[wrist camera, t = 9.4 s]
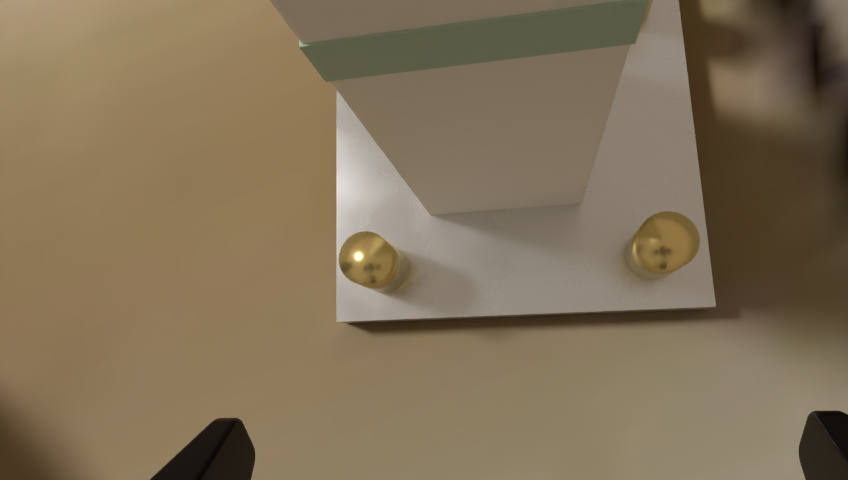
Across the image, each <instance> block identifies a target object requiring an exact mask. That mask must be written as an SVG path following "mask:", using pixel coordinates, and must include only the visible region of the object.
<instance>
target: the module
mask: <svg viewBox="0 0 848 480" xmlns="http://www.w3.org/2000/svg"><path fill="white" fill-rule="evenodd" d="M270 1H271V2H272V4H273V5H274V6H275V8H276V9H277V10H278V12H279V13H280V14H281V16H282V17H283V18H284V20H285V21H286V22H287V24H288V25H289V26H290V28H291V29H292V30H293V32H294V33H295V34H296V36H297V37H298V38H299V47H300V49H301V50H302V51H303V53H304V54H305V55H306V56H307V58H308V59H309V60H310V62H311V63H312V64H313V66H314V67H315V68H316V70H317V71H318V72H319V74H320V75H321V76H322V77H323V79H324V80H325V81H326V82H328V81H331V83H332V84H333V85H334V87H335V88H336V89H337V91H338V92H339V93H340V95H341V96H342V97H343V99H344V100H345V101H346V103H347V104H348V105H349V107H350V108H351V109H352V111H353V112H354V114H355V115H356V116H357V118H358V119H359V120H360V122H361V123H362V124H363V126H364V127H365V128H366V130H367V131H368V132H369V134H370V135H371V136H372V138H373V139H374V140H375V142H376V143H377V144H378V146H379V147H380V148H381V150H382V151H383V152H384V154H385V155H386V156H387V158H388V159H389V160H390V162H391V163H392V164H393V166H394V167H395V168H396V170H397V171H398V173H399V174H400V175H401V177H402V178H403V179H404V181H405V182H406V183H407V185H408V186H409V187H410V189H411V190H412V191H413V193H414V194H415V195H416V197H417V198H418V199H419V201H420V202H421V203H422V205H423V206H424V207H425V209H426V210H427V211H428V213H429V214H430V215H442V214H454V213H466V212H479V211H491V210H503V209H516V208H528V207H541V206H553V205H565V204H578V203H582V202H583V198H584V195H585V192H586V188H587V185H588V182H589V179H590V175H591V172H592V169H593V166H594V162H595V159H596V156H597V153H598V149H599V146H600V143H601V140H602V136H603V133H604V130H605V126H606V123H607V120H608V117H609V113H610V110H611V107H612V104H613V100H614V97H615V94H616V91H617V87H618V84H619V81H620V78H621V74H622V71H623V68H624V64H625V61H626V58H627V55H628V51H629V48H630V45H631V44H635V43H636V40H637V37H638V34H639V30H640V27H641V24H642V21H643V18H644V15H645V12H646V9H647V6H648V2H649V0H270Z"/></svg>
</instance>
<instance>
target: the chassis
mask: <svg viewBox="0 0 848 480" xmlns="http://www.w3.org/2000/svg"><path fill="white" fill-rule="evenodd" d="M713 307H716V302H715V294H714V286H713V278H712V269H711V261H710V253H709V245H708V237H707V228H706V220H705V212H704V204H703V196H702V187H701V179H700V171H699V163H698V155H697V147H696V138H695V130H694V122H693V114H692V106H691V97H690V89H689V81H688V73H687V65H686V56H685V48H684V40H683V32H682V24H681V15H680V7H679V0H649V2H648V6H647V9H646V12H645V15H644V18H643V21H642V24H641V27H640V30H639V34H638V37H637V40H636V43H635V44H631V45H630V48H629V51H628V55H627V58H626V61H625V64H624V68H623V71H622V74H621V78H620V81H619V84H618V87H617V91H616V94H615V97H614V100H613V104H612V107H611V110H610V113H609V117H608V120H607V123H606V126H605V130H604V133H603V136H602V140H601V143H600V146H599V149H598V153H597V156H596V159H595V162H594V166H593V169H592V172H591V175H590V179H589V182H588V185H587V188H586V192H585V195H584V198H583V202H582V203H578V204H565V205H553V206H541V207H528V208H516V209H503V210H491V211H479V212H466V213H454V214H442V215H430V214H429V213H428V211H427V210H426V209H425V207H424V206H423V205H422V203H421V202H420V201H419V199H418V198H417V197H416V195H415V194H414V193H413V191H412V190H411V189H410V187H409V186H408V185H407V183H406V182H405V181H404V179H403V178H402V177H401V175H400V174H399V173H398V171H397V170H396V168H395V167H394V166H393V164H392V163H391V162H390V160H389V159H388V158H387V156H386V155H385V154H384V152H383V151H382V150H381V148H380V147H379V146H378V144H377V143H376V142H375V140H374V139H373V138H372V136H371V135H370V134H369V132H368V131H367V130H366V128H365V127H364V126H363V124H362V123H361V122H360V120H359V119H358V118H357V116H356V115H355V114H354V112H353V111H352V109H351V108H350V107H349V105H348V104H347V103H346V101H345V100H344V99H343V97H342V96H341V95H340V93H339V92H338V91H337V322H340V323H369V322H395V321H420V320H445V319H470V318H496V317H521V316H546V315H572V314H597V313H622V312H648V311H673V310H698V309H709V308H713Z"/></svg>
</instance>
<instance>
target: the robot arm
mask: <svg viewBox="0 0 848 480" xmlns="http://www.w3.org/2000/svg"><path fill="white" fill-rule="evenodd" d="M799 458H800V463H801V466H802V469H803V473H804V476H805V479H806V480H848V415H847V414H845V413H843V412H841V411H813V412H811V413H810V414H809V416H808V418H807V421H806V424H805V428H804V431H803V434H802V438H801V441H800V444H799ZM254 463H255V450H254V446H253V444H252V442H251V440H250V437H249V435H248V433H247V431H246V429H245V427H244V424H243V422H242V421H241V420H240V419H238V418H218V419H216V420H214V421H213V422H211V423H210V424H209V425H208V426H207V427H206V428H205V429H204V430H203V431H202V432H201V433H199V434H198V435H197V436H196V437H195V438H194V439H193V440H192V441H191V442H190V443H189V444H188V445H187V446H186V447H184V448H183V449H182V450H181V451H180V452H179V453H178V454H177V455H176V456H175V457H174V458H173V459H172V460H170V461H169V462H168V463H167V464H166V465H165V466H164V467H163V468H162V469H161V470H160V471H159V472H158V473H157V474H155V475H154V476H153V477H152V478H151V479H150V480H251V477H252V472H253V467H254Z"/></svg>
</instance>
